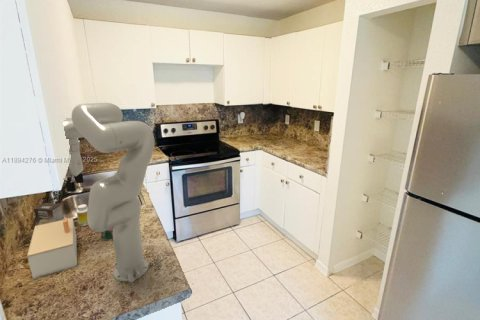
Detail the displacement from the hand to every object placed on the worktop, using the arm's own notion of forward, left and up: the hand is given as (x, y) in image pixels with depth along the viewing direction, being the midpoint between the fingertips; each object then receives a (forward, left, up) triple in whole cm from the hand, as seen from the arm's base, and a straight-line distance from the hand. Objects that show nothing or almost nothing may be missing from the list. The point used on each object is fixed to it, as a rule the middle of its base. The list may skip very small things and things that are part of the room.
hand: (75, 186), depth 111 cm
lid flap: (-5, +11, -18) cm, 21 cm away
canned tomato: (0, -10, -28) cm, 29 cm away
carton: (-5, +11, -27) cm, 30 cm away
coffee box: (+13, +13, -28) cm, 33 cm away
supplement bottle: (+19, 0, -28) cm, 33 cm away
